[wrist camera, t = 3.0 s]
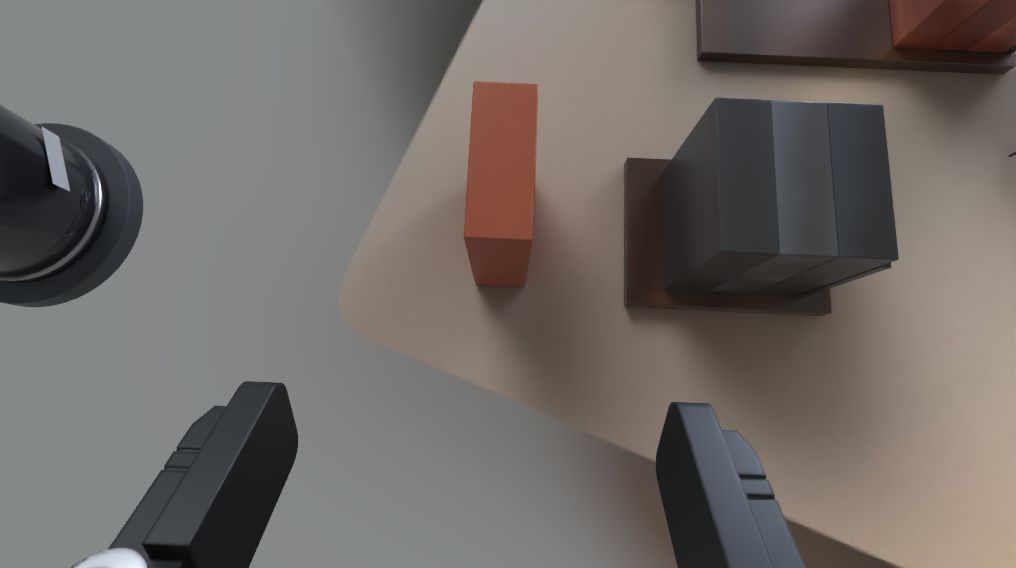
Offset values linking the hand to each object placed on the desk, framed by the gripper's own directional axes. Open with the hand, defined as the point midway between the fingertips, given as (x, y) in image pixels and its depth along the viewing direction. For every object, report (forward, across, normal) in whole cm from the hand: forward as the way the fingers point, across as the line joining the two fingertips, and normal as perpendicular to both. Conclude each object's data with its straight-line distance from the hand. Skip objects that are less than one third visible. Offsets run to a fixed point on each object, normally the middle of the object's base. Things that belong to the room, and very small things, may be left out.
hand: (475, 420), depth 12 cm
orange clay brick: (+25, 0, +8) cm, 26 cm away
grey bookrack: (+25, -15, +8) cm, 30 cm away
